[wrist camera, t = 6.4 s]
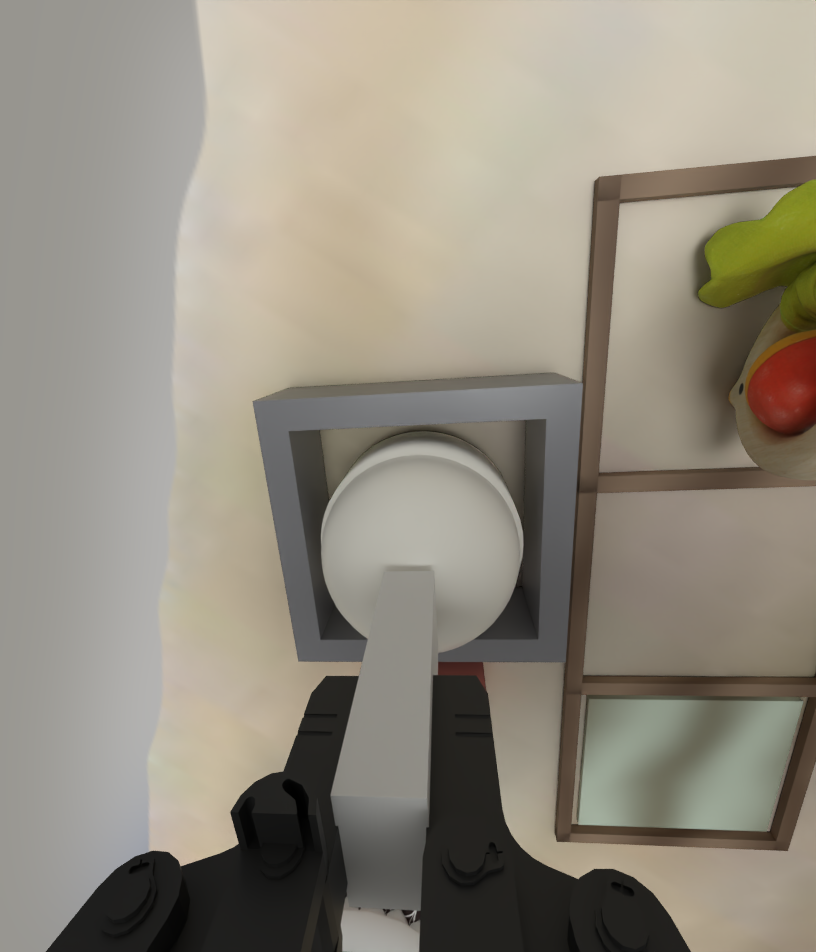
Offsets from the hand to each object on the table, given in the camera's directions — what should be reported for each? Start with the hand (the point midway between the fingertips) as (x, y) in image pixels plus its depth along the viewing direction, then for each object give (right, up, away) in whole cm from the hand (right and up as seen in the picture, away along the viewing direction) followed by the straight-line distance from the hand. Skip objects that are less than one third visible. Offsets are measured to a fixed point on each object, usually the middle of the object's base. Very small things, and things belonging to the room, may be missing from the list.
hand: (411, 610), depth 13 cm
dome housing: (+1, 0, +9) cm, 9 cm away
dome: (+1, +2, +7) cm, 8 cm away
